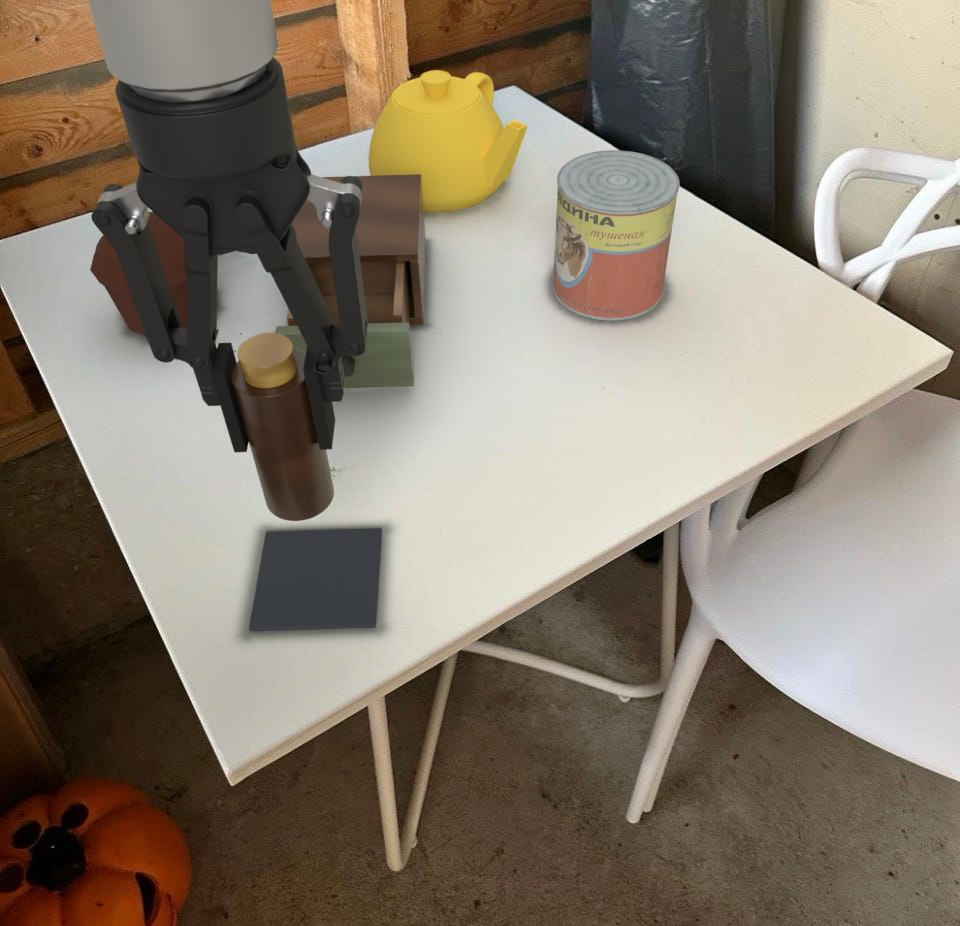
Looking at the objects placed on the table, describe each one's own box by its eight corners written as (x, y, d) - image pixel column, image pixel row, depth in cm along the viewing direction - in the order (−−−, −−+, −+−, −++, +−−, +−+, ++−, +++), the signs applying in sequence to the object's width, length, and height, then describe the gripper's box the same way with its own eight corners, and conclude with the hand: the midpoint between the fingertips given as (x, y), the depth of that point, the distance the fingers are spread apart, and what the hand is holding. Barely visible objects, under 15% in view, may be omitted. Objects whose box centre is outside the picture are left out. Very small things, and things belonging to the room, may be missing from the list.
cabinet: (423, 324, 91) (417, 253, 85) (294, 328, 91) (280, 257, 85) (425, 242, 101) (421, 173, 95) (310, 245, 101) (298, 177, 95)
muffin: (118, 359, 88) (83, 270, 81) (105, 295, 95) (72, 208, 88) (242, 328, 91) (219, 240, 84) (220, 269, 98) (198, 183, 91)
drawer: (413, 395, 82) (408, 339, 78) (285, 399, 82) (272, 343, 78) (417, 297, 92) (413, 242, 88) (303, 300, 92) (292, 246, 88)
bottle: (261, 522, 61) (218, 376, 52) (270, 471, 64) (231, 326, 55) (331, 520, 61) (300, 374, 52) (337, 469, 64) (309, 323, 55)
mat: (249, 631, 66) (248, 628, 66) (266, 534, 72) (265, 531, 72) (375, 627, 66) (374, 624, 66) (381, 531, 72) (381, 527, 72)
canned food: (531, 274, 96) (534, 168, 88) (622, 245, 100) (633, 139, 91) (590, 333, 89) (600, 224, 81) (685, 299, 93) (704, 191, 84)
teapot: (342, 190, 109) (327, 82, 100) (442, 128, 119) (437, 26, 110) (477, 245, 100) (475, 133, 91) (573, 174, 111) (579, 67, 101)
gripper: (395, 27, 44) (426, 391, 61) (27, 39, 44) (159, 400, 61) (388, 96, 39) (424, 474, 56) (-29, 109, 39) (132, 483, 56)
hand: (285, 435), depth 59 cm, fingers closed on bottle, 5 cm apart
